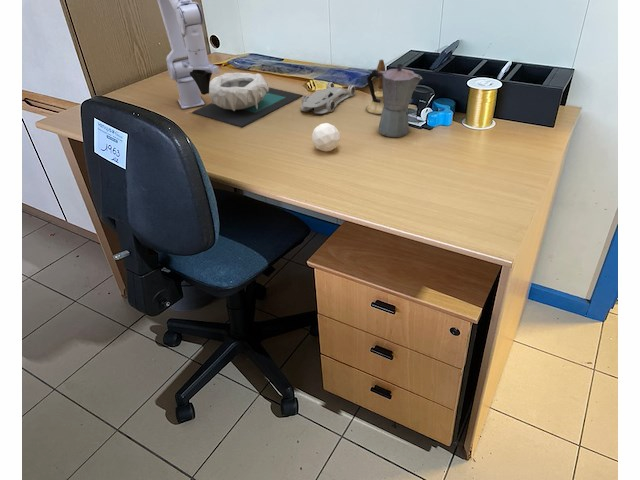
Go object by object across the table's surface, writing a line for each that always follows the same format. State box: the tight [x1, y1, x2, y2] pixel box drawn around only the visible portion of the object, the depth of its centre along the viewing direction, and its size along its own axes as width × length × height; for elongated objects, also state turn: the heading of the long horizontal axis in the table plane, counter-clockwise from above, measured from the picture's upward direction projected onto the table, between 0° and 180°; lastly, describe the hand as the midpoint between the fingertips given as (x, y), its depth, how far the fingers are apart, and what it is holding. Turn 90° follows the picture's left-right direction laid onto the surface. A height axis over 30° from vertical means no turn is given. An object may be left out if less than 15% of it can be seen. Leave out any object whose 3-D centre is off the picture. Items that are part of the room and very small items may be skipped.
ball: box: [311, 122, 341, 152], centre depth 135 cm, size 8×8×8 cm
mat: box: [191, 87, 304, 128], centre depth 168 cm, size 31×24×1 cm
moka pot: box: [366, 63, 423, 138], centre depth 138 cm, size 10×15×20 cm, turn 78°
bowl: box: [208, 72, 270, 111], centre depth 162 cm, size 21×20×10 cm
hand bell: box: [366, 59, 386, 115], centre depth 153 cm, size 8×8×16 cm
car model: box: [300, 81, 356, 115], centre depth 163 cm, size 11×24×5 cm, turn 148°
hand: (205, 93), depth 151 cm, fingers closed
